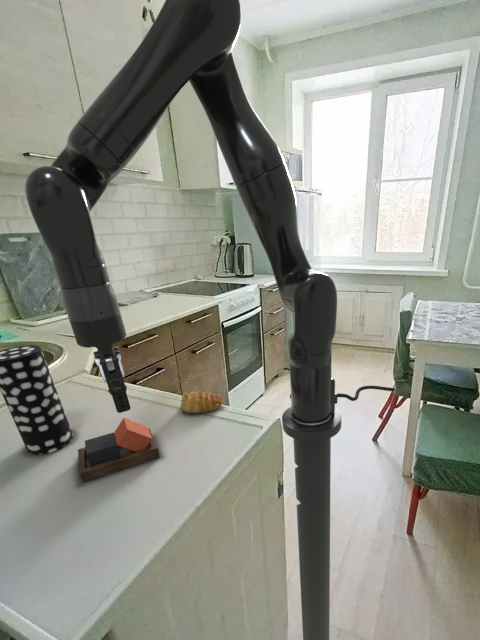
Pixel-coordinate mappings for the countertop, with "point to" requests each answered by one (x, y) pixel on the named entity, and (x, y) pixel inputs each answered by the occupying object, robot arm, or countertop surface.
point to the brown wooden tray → (116, 461)
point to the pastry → (200, 402)
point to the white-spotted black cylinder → (33, 399)
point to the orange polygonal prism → (132, 435)
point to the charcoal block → (101, 449)
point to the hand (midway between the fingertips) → (121, 401)
